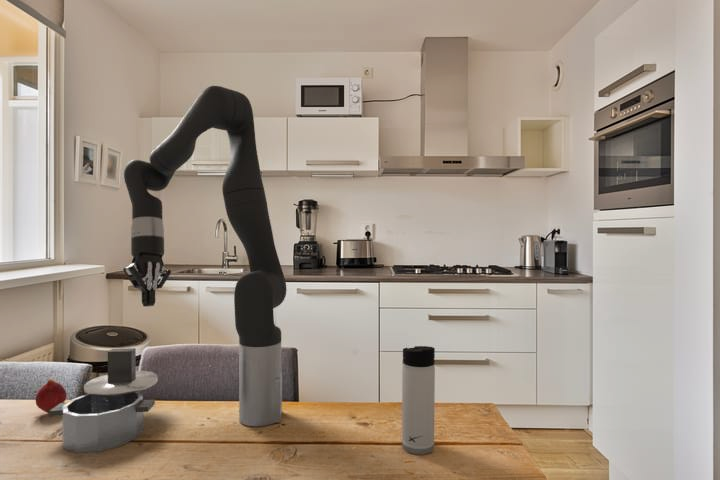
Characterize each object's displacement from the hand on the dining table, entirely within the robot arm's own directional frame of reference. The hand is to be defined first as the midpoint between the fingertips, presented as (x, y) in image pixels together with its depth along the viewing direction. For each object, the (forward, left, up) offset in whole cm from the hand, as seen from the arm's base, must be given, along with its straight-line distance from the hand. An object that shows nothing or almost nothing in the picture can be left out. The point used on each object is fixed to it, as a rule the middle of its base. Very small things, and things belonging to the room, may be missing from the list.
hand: (148, 306), depth 109 cm
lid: (+3, +9, -16) cm, 19 cm away
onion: (+20, +5, -24) cm, 31 cm away
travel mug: (-60, +30, -24) cm, 72 cm away
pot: (+3, +18, -23) cm, 30 cm away
